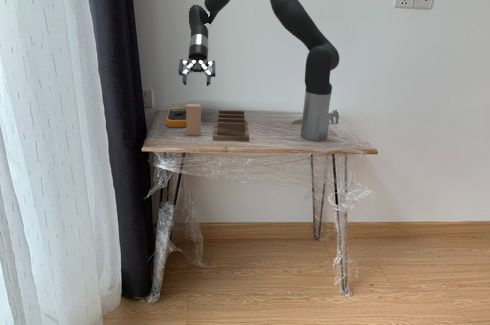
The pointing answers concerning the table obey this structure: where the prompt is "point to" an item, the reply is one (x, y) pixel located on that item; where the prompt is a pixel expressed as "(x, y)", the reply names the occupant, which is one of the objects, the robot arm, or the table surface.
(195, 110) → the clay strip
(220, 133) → the ridged wooden board
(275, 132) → the table surface
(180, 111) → the multimeter
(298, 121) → the caliper
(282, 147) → the table surface
